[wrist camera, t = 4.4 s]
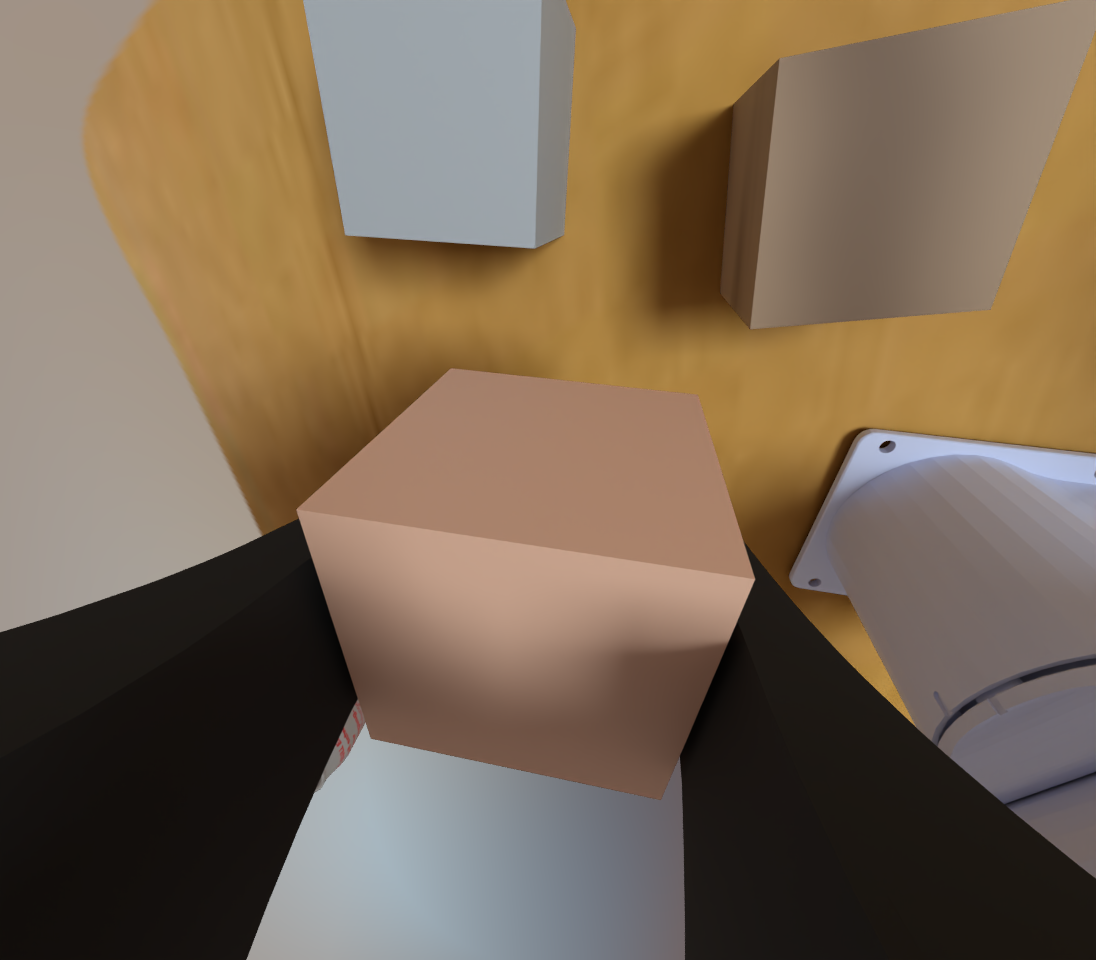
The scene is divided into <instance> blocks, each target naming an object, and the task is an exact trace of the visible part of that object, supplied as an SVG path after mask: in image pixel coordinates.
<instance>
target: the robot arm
mask: <svg viewBox="0 0 1096 960" xmlns="http://www.w3.org/2000/svg"><path fill="white" fill-rule="evenodd" d="M885 441H890V444H889V445H888V446H886V447H884V448H879V446H880V445H881V444H882V443H883V442H885ZM1095 471H1096V454H1092V453H1083V452H1074V451H1065V450H1057V449H1048V448H1039V447H1030V446H1021V445H1012V444H1004V443H995V442H986V441H977V440H968V439H960V438H951V437H942V436H933V435H924V434H915V433H907V432H898V431H889V430H880V429H868V430H865V431H862V432H861V433H860V434H858V435H857V436H856V438H855V439H854V441H853V443H852V445H851V447H850V449H849V452H848V454H847V456H846V458H845V460H844V462H843V464H842V466H841V468H840V470H839V472H838V474H837V476H836V478H835V481H834V483H833V485H832V487H831V489H830V491H829V493H828V495H827V497H826V499H825V501H824V503H823V505H822V507H821V509H820V512H819V514H818V516H817V518H816V520H815V522H814V524H813V526H812V528H811V530H810V532H809V534H808V536H807V538H806V541H805V543H804V545H803V547H802V549H801V551H800V553H799V555H798V557H797V559H796V561H795V563H794V565H793V567H792V570H791V572H790V574H789V578H790V581H791V583H792V585H793V586H795V587H798V588H803V589H809V590H816V591H822V592H828V593H835V594H841V595H848V597H849V599H850V601H851V603H852V605H853V607H854V609H855V610H856V612H857V614H858V616H859V618H860V620H861V622H862V624H863V626H864V628H865V630H866V632H867V633H868V635H869V637H870V639H871V641H872V643H873V645H874V647H875V649H876V651H877V653H878V655H879V656H880V658H881V660H882V662H883V664H884V666H885V668H886V670H887V672H888V674H889V676H890V677H891V679H892V681H893V683H894V685H895V687H896V689H897V691H898V693H899V695H900V697H901V699H902V700H903V702H904V704H905V706H906V708H907V710H908V712H909V714H910V716H911V718H912V720H913V722H914V723H915V725H916V727H917V728H916V727H915V726H914V725H913V724H912V723H911V722H910V721H909V720H908V719H907V718H905V717H904V716H903V715H902V714H901V713H900V712H899V711H898V710H897V709H896V708H895V707H894V706H893V705H892V704H891V703H890V702H889V701H888V700H887V699H886V698H885V697H883V696H882V695H881V694H880V693H879V692H878V691H877V690H876V689H875V688H874V687H873V686H872V685H871V684H870V683H869V682H868V681H867V680H866V679H865V678H864V677H863V676H862V675H861V674H860V673H859V672H858V671H857V670H856V669H855V668H854V667H853V666H852V665H851V664H850V663H849V662H848V661H847V660H846V659H845V658H844V657H843V656H842V655H841V654H840V653H839V652H838V651H837V650H836V649H835V648H834V647H833V646H832V644H831V643H830V642H829V641H828V640H827V639H826V638H825V637H824V636H823V635H822V634H821V633H820V631H819V630H818V629H817V628H816V627H815V626H814V625H813V624H812V623H811V622H810V621H809V620H808V618H807V617H806V616H805V615H804V614H803V613H802V612H801V611H800V609H799V608H798V607H797V606H796V605H795V604H794V603H793V601H792V600H791V599H790V598H789V597H788V596H787V594H786V593H785V592H784V591H783V590H782V588H781V587H780V586H779V585H778V584H777V582H776V581H775V580H774V579H773V578H772V576H771V575H770V574H769V573H768V571H767V570H766V569H765V568H764V566H763V565H762V564H761V563H760V561H759V560H758V559H757V558H756V556H755V555H754V554H753V553H752V551H751V550H750V549H749V547H748V546H747V545H746V544H745V542H744V541H743V542H744V545H745V548H746V551H747V555H748V558H749V561H750V564H751V568H752V571H753V574H754V577H755V581H754V583H753V585H752V588H751V590H750V592H749V595H748V597H747V600H746V602H745V604H744V607H743V609H742V611H741V614H740V616H739V618H738V621H737V623H736V625H735V628H734V630H733V632H732V635H731V637H730V639H729V642H728V644H727V646H726V649H725V651H724V653H723V656H722V658H721V660H720V663H719V665H718V668H717V670H716V672H715V675H714V677H713V679H712V682H711V684H710V686H709V689H708V691H707V693H706V696H705V698H704V700H703V703H702V705H701V707H700V710H699V712H698V714H697V717H696V719H695V721H694V724H693V726H692V728H691V731H690V733H689V735H688V738H687V740H686V743H685V745H684V747H683V750H682V752H681V754H680V764H681V777H682V800H683V833H684V834H683V835H684V836H683V837H684V887H685V888H684V889H685V890H684V891H685V960H1096V472H1095ZM816 578H817V579H816ZM811 579H816V580H813V581H810V580H811ZM357 700H358V697H357V694H356V691H355V688H354V685H353V682H352V679H351V676H350V673H349V670H348V667H347V664H346V661H345V657H344V654H343V651H342V648H341V645H340V642H339V639H338V636H337V633H336V630H335V627H334V624H333V621H332V618H331V615H330V612H329V608H328V605H327V602H326V599H325V596H324V593H323V590H322V587H321V584H320V581H319V578H318V575H317V572H316V569H315V566H314V562H313V559H312V556H311V553H310V550H309V547H308V544H307V541H306V538H305V535H304V532H303V529H302V526H301V523H300V520H299V519H297V520H295V521H293V522H291V523H289V524H287V525H285V526H282V527H280V528H278V529H276V530H274V531H272V532H270V533H268V534H266V535H264V536H262V537H259V538H257V539H255V540H253V541H251V542H249V543H247V544H245V545H243V546H241V547H238V548H236V549H234V550H231V551H229V552H227V553H224V554H222V555H220V556H218V557H215V558H213V559H210V560H208V561H206V562H203V563H200V564H198V565H196V566H193V567H191V568H188V569H185V570H183V571H180V572H178V573H176V574H173V575H170V576H168V577H165V578H163V579H160V580H157V581H155V582H152V583H149V584H147V585H144V586H141V587H138V588H135V589H132V590H129V591H126V592H123V593H120V594H117V595H115V596H111V597H109V598H106V599H103V600H100V601H97V602H94V603H91V604H88V605H85V606H83V607H79V608H76V609H73V610H71V611H68V612H65V613H62V614H59V615H56V616H52V617H49V618H46V619H43V620H40V621H36V622H33V623H30V624H26V625H24V626H20V627H17V628H13V629H10V630H7V631H3V632H0V960H246V959H247V957H248V954H249V951H250V949H251V946H252V943H253V941H254V938H255V936H256V933H257V930H258V927H259V925H260V923H261V920H262V917H263V915H264V912H265V909H266V907H267V904H268V902H269V899H270V897H271V894H272V892H273V890H274V887H275V885H276V882H277V880H278V877H279V875H280V872H281V870H282V868H283V865H284V863H285V860H286V858H287V855H288V853H289V850H290V848H291V846H292V843H293V841H294V838H295V836H296V833H297V831H298V829H299V826H300V824H301V822H302V819H303V817H304V815H305V813H306V810H307V808H308V806H309V803H310V801H311V799H312V797H313V794H314V792H315V790H316V787H317V785H318V783H319V781H320V778H321V776H322V774H323V771H324V769H325V767H326V765H327V763H328V760H329V758H330V756H331V754H332V752H333V750H334V747H335V745H336V743H337V741H338V739H339V737H340V735H341V732H342V730H343V728H344V726H345V724H346V722H347V719H348V717H349V715H350V713H351V711H352V709H353V707H354V705H355V704H356V702H357Z"/></svg>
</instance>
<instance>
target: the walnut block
mask: <svg viewBox="0 0 1096 960" xmlns="http://www.w3.org/2000/svg"><path fill="white" fill-rule="evenodd" d="M1095 30H1096V0H1069V1H1064V2H1059V3H1054V4H1049V5H1044V6H1039V7H1034V8H1029V9H1024V10H1019V11H1014V12H1009V13H1004V14H999V15H994V16H989V17H984V18H979V19H974V20H969V21H964V22H959V23H954V24H949V25H944V26H939V27H934V28H929V29H924V30H919V31H914V32H909V33H904V34H899V35H894V36H889V37H884V38H879V39H874V40H869V41H864V42H859V43H854V44H849V45H844V46H839V47H834V48H829V49H824V50H819V51H814V52H809V53H804V54H799V55H794V56H789V57H784V58H780V59H779V60H778V61H777V62H776V63H775V64H774V65H773V66H772V67H771V68H770V69H769V70H768V71H767V72H766V73H765V74H763V75H762V76H761V77H760V78H759V79H758V80H757V81H756V82H755V83H754V84H753V85H752V86H751V87H750V88H749V89H748V90H747V91H746V92H745V93H744V94H743V95H742V96H741V97H740V98H739V99H738V100H737V101H736V102H735V103H734V105H733V119H732V133H731V147H730V161H729V175H728V189H727V203H726V217H725V231H724V245H723V259H722V273H721V287H720V294H721V295H722V296H723V297H724V299H725V300H726V301H727V302H728V303H729V305H730V306H731V307H732V308H733V309H734V311H735V312H736V313H737V314H738V315H739V317H740V318H741V319H742V320H743V321H744V323H745V324H746V325H747V326H748V327H749V329H759V328H772V327H784V326H796V325H808V324H821V323H833V322H845V321H857V320H870V319H882V318H894V317H907V316H919V315H931V314H943V313H956V312H968V311H980V310H991V307H992V304H993V302H994V299H995V296H996V294H997V291H998V288H999V286H1000V283H1001V280H1002V278H1003V275H1004V272H1005V270H1006V267H1007V264H1008V262H1009V259H1010V256H1011V254H1012V251H1013V248H1014V246H1015V243H1016V240H1017V238H1018V235H1019V232H1020V230H1021V227H1022V224H1023V222H1024V219H1025V217H1026V214H1027V211H1028V209H1029V206H1030V203H1031V201H1032V198H1033V195H1034V193H1035V190H1036V187H1037V185H1038V182H1039V179H1040V177H1041V174H1042V171H1043V169H1044V166H1045V163H1046V161H1047V158H1048V155H1049V153H1050V150H1051V147H1052V145H1053V142H1054V139H1055V137H1056V134H1057V131H1058V129H1059V126H1060V123H1061V121H1062V118H1063V115H1064V113H1065V110H1066V107H1067V105H1068V102H1069V100H1070V97H1071V94H1072V92H1073V89H1074V86H1075V84H1076V81H1077V78H1078V76H1079V73H1080V70H1081V68H1082V65H1083V62H1084V60H1085V57H1086V54H1087V52H1088V49H1089V46H1090V44H1091V41H1092V38H1093V36H1094V33H1095Z"/></svg>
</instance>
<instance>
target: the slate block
mask: <svg viewBox="0 0 1096 960" xmlns="http://www.w3.org/2000/svg"><path fill="white" fill-rule="evenodd" d="M303 2H304V7H305V13H306V18H307V24H308V29H309V35H310V41H311V46H312V52H313V57H314V63H315V69H316V74H317V80H318V85H319V91H320V96H321V102H322V108H323V113H324V119H325V124H326V130H327V136H328V141H329V147H330V152H331V158H332V163H333V169H334V175H335V180H336V186H337V191H338V197H339V203H340V208H341V214H342V219H343V225H344V230H345V235H349V236H363V237H378V238H392V239H406V240H421V241H435V242H449V243H464V244H478V245H492V246H506V247H521V248H537V247H539V246H541V245H544V244H546V243H548V242H550V241H552V240H554V239H556V238H559V237H561V236H563V235H564V227H565V209H566V192H567V174H568V157H569V139H570V122H571V104H572V87H573V69H574V52H575V34H576V27H575V25H574V22H573V19H572V17H571V14H570V11H569V9H568V6H567V3H566V1H565V0H303Z"/></svg>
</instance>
